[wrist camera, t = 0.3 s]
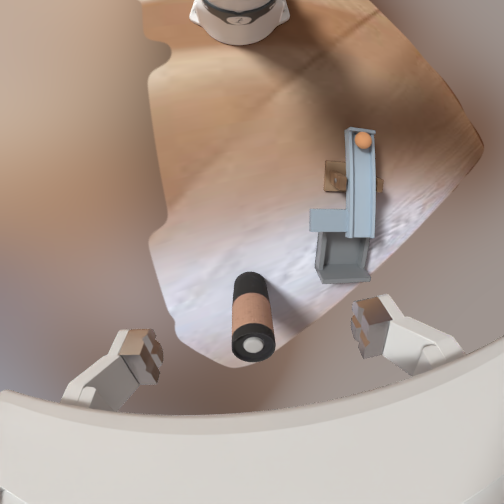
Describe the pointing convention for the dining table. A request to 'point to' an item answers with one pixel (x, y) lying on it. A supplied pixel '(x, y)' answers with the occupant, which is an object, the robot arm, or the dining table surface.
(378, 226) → the dining table surface
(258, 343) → the travel mug
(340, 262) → the tray
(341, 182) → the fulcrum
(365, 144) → the ball
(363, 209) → the lever
